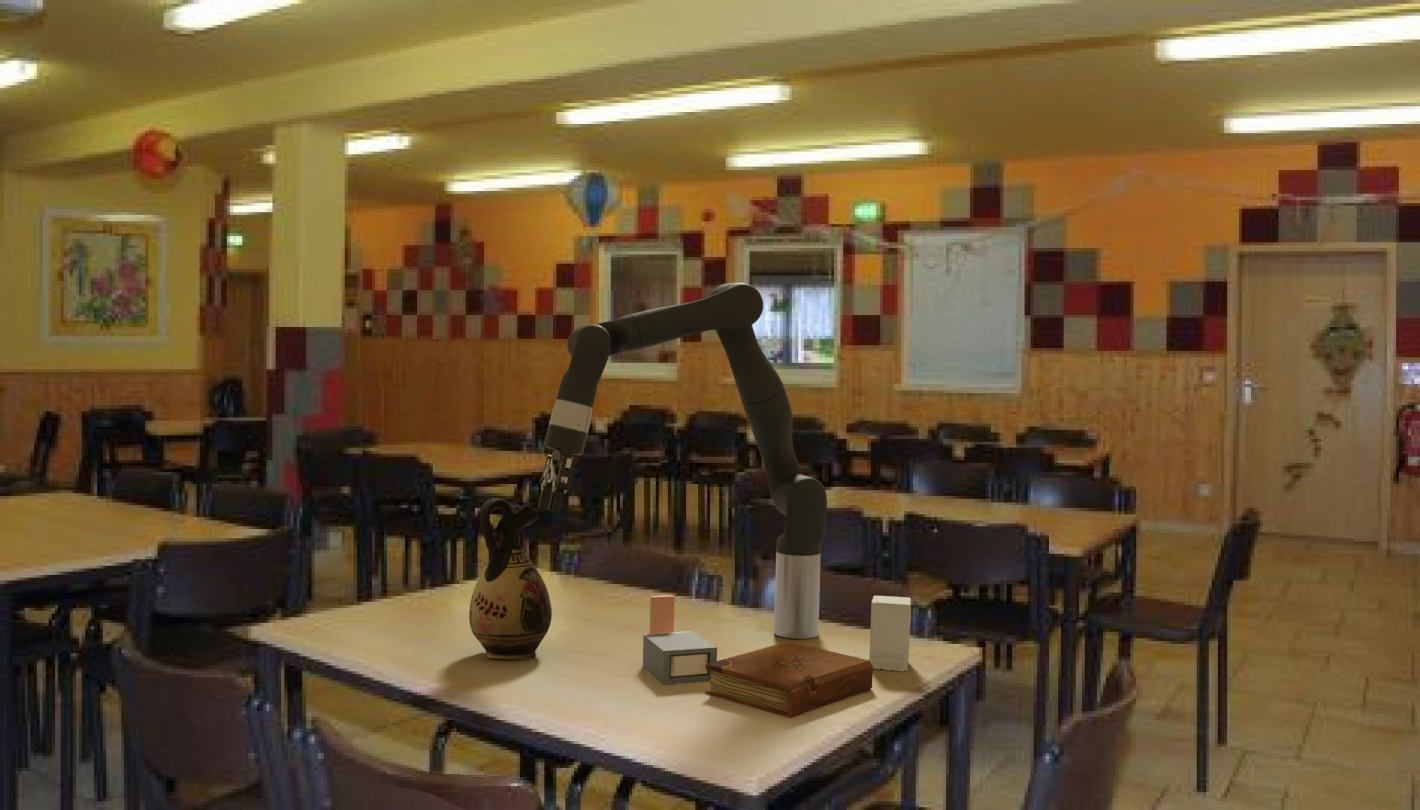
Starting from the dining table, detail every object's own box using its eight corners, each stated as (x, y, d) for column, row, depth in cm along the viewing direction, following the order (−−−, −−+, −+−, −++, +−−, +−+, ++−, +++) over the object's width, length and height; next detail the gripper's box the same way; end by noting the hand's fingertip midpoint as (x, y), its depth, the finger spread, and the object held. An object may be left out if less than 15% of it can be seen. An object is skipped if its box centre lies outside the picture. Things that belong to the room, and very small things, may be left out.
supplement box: (908, 672, 216) (910, 605, 215) (868, 669, 217) (870, 602, 217) (909, 662, 223) (911, 596, 222) (870, 659, 224) (872, 594, 224)
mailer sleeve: (693, 663, 218) (694, 631, 218) (716, 680, 207) (717, 647, 206) (642, 667, 215) (643, 634, 214) (662, 685, 203) (663, 651, 203)
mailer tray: (683, 654, 223) (684, 594, 222) (713, 678, 207) (715, 613, 206) (636, 657, 219) (638, 596, 219) (664, 682, 204) (665, 616, 203)
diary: (791, 722, 187) (792, 687, 186) (704, 697, 199) (705, 664, 199) (872, 692, 204) (873, 660, 203) (787, 671, 216) (788, 640, 216)
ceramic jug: (519, 640, 232) (522, 490, 230) (567, 656, 221) (570, 499, 219) (445, 654, 220) (447, 496, 218) (491, 672, 209) (494, 505, 208)
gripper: (597, 432, 215) (576, 518, 214) (578, 431, 229) (558, 512, 227) (558, 422, 213) (537, 509, 211) (541, 422, 226) (521, 504, 225)
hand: (548, 510), depth 219 cm, fingers open, 8 cm apart
